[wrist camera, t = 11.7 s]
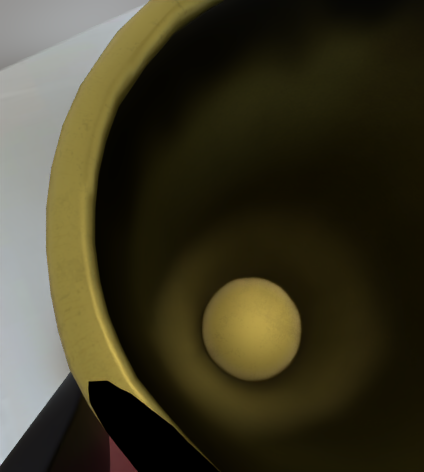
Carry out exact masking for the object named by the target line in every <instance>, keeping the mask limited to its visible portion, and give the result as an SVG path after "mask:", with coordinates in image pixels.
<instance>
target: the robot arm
mask: <svg viewBox="0 0 424 472" xmlns="http://www.w3.org/2000/svg"><path fill="white" fill-rule="evenodd" d="M0 472H110V440H109V435H108V433H107V432H106V431H105V429H104V428H103V426H102V425H101V423H100V422H99V420H98V419H97V417H96V416H95V414H94V413H93V411H92V410H91V408H90V407H89V405H88V403H87V401H86V399H85V397H84V396H83V394H82V392H81V390H80V388H79V386H78V384H77V382H76V380H75V378H74V377H73V375H72V373H71V372H70V373H69V375H68V376H67V377H66V379H65V380H64V381H63V383H62V384H61V385H60V387H59V388H58V389H57V391H56V392H55V393H54V395H53V396H52V397H51V399H50V400H49V401H48V403H47V404H46V405H45V407H44V408H43V409H42V411H41V412H40V413H39V415H38V416H37V417H36V419H35V420H34V421H33V423H32V424H31V425H30V427H29V428H28V429H27V431H26V432H25V433H24V435H23V436H22V438H21V439H20V440H19V442H18V443H17V444H16V446H15V447H14V448H13V450H12V451H11V452H10V454H9V455H8V456H7V458H6V459H5V460H4V462H3V463H2V464H1V466H0Z"/></svg>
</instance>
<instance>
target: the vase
mask: <svg viewBox="0 0 424 472" xmlns="http://www.w3.org/2000/svg"><path fill="white" fill-rule="evenodd" d="M46 253H47V263H48V272H49V281H50V291H51V297H52V302H53V307H54V312H55V317H56V322H57V328H58V332H59V336H60V339H61V342H62V346H63V349H64V352H65V356H66V359H67V362H68V366H69V369H70V371H71V373H72V375H73V377H74V378H75V380H76V382H77V384H78V386H79V388H80V390H81V392H82V394H83V396H84V397H85V399H86V401H87V403H88V405H89V407H90V408H91V410H92V411H93V413H94V414H95V416H96V417H97V419H98V420H99V422H100V423H101V425H102V426H103V428H104V429H105V431H106V432H107V433H108V435H109V436H110V437H111V439H112V440H113V441H114V443H115V444H116V445H117V446H118V448H119V449H120V450H121V451H122V453H123V454H124V455H125V456H126V457H127V459H128V460H129V461H130V463H131V464H132V465H133V467H134V468H135V469H136V470H137V472H424V0H150V1H149V2H148V3H147V4H146V5H145V6H144V7H143V8H142V9H140V10H139V11H138V12H137V13H136V14H135V15H134V16H133V17H132V18H131V19H130V20H129V21H128V22H127V23H126V24H125V25H124V26H123V27H122V28H121V29H120V30H119V31H118V32H117V33H116V35H115V36H114V37H113V39H112V40H111V41H110V43H109V44H108V46H107V47H106V49H105V50H104V52H103V53H102V54H101V56H100V57H99V59H98V60H97V62H96V63H95V65H94V66H93V68H92V69H91V71H90V72H89V74H88V75H87V77H86V78H85V79H84V81H83V82H82V84H81V85H80V88H79V90H78V92H77V94H76V97H75V99H74V101H73V103H72V106H71V108H70V110H69V112H68V115H67V117H66V119H65V121H64V124H63V126H62V130H61V134H60V137H59V141H58V145H57V149H56V152H55V156H54V160H53V164H52V167H51V174H50V182H49V190H48V198H47V206H46Z"/></svg>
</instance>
